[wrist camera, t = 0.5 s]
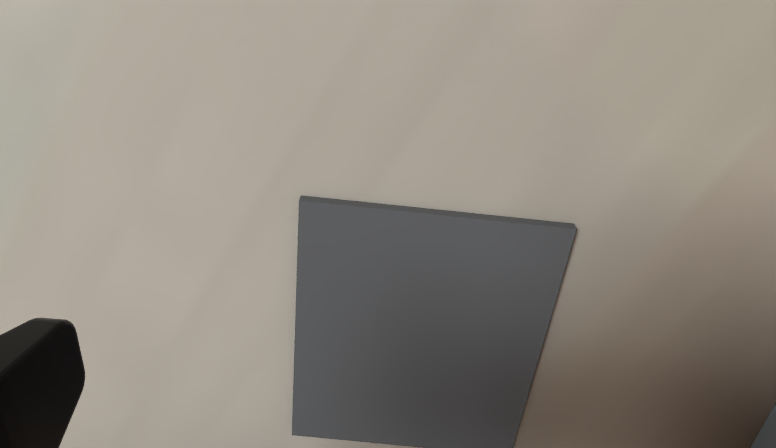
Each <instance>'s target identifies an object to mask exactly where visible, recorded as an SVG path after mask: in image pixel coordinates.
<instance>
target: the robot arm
mask: <svg viewBox="0 0 776 448" xmlns="http://www.w3.org/2000/svg"><path fill="white" fill-rule="evenodd" d="M84 381H85V370H84V365H83V360H82V356H81V351H80V346H79V342H78V337H77V333H76V329H75V327H74V325H73V324H72V323H71V322H70V321H68V320H63V319H50V318H35V319H32V320H29V321H27V322H25V323H23V324H21V325H19V326H17V327H15V328H13V329H11V330H9V331H7V332H6V333H4V334H2V335H0V448H59V446H60V443H61V441H62V439H63V436H64V434H65V431H66V429H67V427H68V424H69V422H70V419H71V417H72V415H73V412H74V410H75V407H76V405H77V403H78V400H79V398H80V395H81V393H82V390H83V387H84Z"/></svg>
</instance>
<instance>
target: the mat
mask: <svg viewBox="0 0 776 448" xmlns="http://www.w3.org/2000/svg"><path fill="white" fill-rule="evenodd" d="M576 230H577V229H576V227H575V225H574V224H571V223H561V222H551V221H542V220H532V219H522V218H513V217H503V216H493V215H484V214H474V213H464V212H454V211H445V210H435V209H425V208H416V207H406V206H396V205H387V204H377V203H367V202H358V201H348V200H338V199H329V198H319V197H309V196H301V197H300V200H299V222H298V255H297V287H296V320H295V352H294V385H293V417H292V435H297V436H308V437H318V438H329V439H339V440H350V441H360V442H371V443H382V444H392V445H403V446H413V447H424V448H513V445H514V441H515V438H516V435H517V431H518V428H519V424H520V421H521V418H522V414H523V411H524V407H525V404H526V400H527V397H528V394H529V390H530V387H531V383H532V380H533V377H534V373H535V370H536V366H537V363H538V359H539V356H540V353H541V349H542V346H543V342H544V339H545V336H546V332H547V329H548V325H549V322H550V319H551V315H552V312H553V308H554V305H555V301H556V298H557V295H558V291H559V288H560V284H561V281H562V278H563V274H564V271H565V267H566V264H567V260H568V257H569V254H570V250H571V247H572V243H573V240H574V237H575V233H576Z"/></svg>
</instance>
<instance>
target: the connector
mask: <svg viewBox="0 0 776 448" xmlns="http://www.w3.org/2000/svg"><path fill="white" fill-rule="evenodd" d="M750 448H776V404H775V406H774V407H773V409H772V411H771V413H770V414H769V416H768V418H767V419H766V421H765V423H764V425H763V426H762V428H761V430H760V432H759V433H758V435H757V437H756V439H755V440H754V442H753V444H752V446H751V447H750Z"/></svg>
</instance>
